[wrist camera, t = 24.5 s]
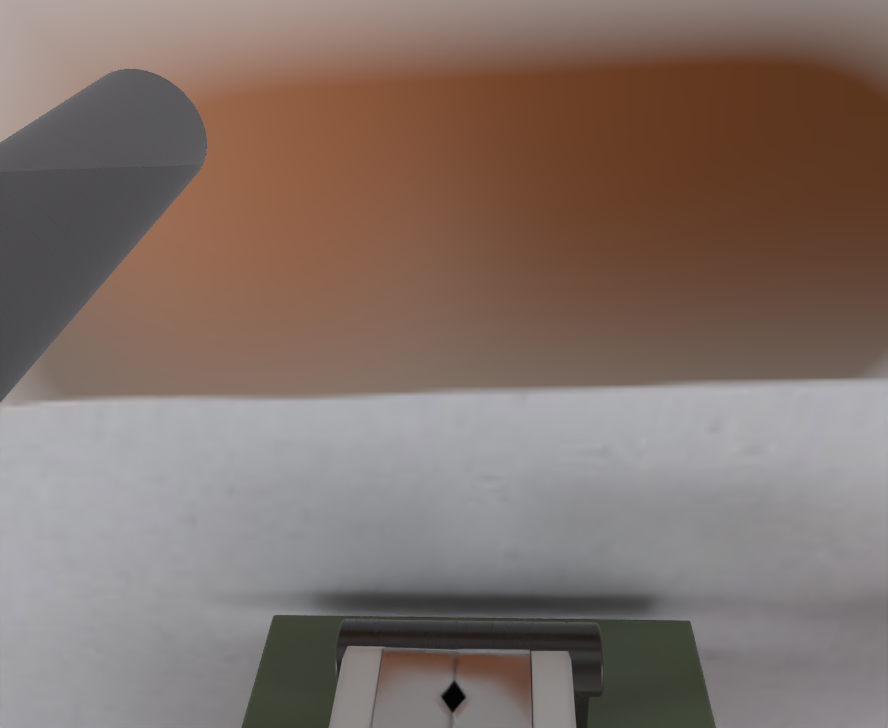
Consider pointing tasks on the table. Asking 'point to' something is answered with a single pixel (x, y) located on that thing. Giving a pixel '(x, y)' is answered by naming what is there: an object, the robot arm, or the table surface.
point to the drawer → (587, 640)
